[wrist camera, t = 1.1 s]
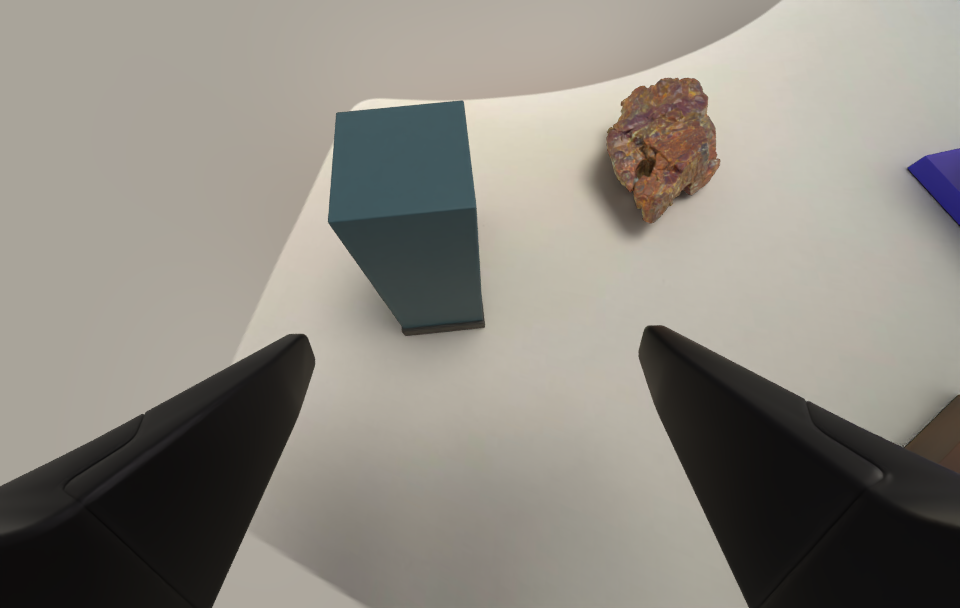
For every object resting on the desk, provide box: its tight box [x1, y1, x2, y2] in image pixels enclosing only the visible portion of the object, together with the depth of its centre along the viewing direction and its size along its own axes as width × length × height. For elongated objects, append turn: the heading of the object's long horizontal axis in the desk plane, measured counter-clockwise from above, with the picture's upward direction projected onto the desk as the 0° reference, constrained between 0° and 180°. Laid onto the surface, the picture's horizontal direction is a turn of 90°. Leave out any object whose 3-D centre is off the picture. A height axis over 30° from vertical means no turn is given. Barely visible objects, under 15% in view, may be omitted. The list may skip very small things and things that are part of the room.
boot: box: [328, 101, 485, 336], centre depth 21 cm, size 10×6×13 cm, turn 6°
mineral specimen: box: [606, 78, 720, 223], centre depth 27 cm, size 12×8×7 cm
